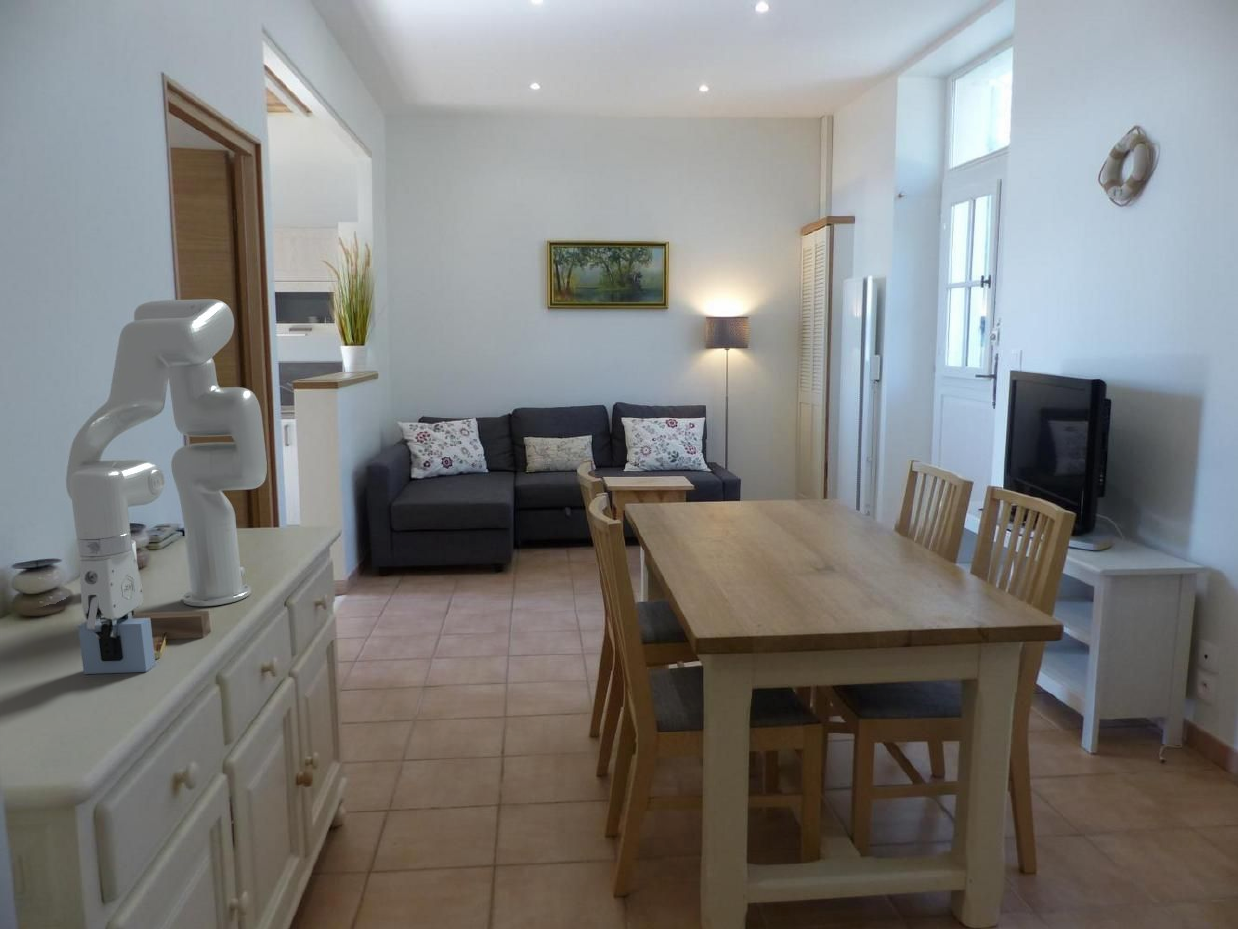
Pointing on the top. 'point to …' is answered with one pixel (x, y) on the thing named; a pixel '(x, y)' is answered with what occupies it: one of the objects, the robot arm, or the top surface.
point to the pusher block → (133, 648)
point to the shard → (159, 644)
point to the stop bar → (178, 624)
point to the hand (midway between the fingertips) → (118, 655)
